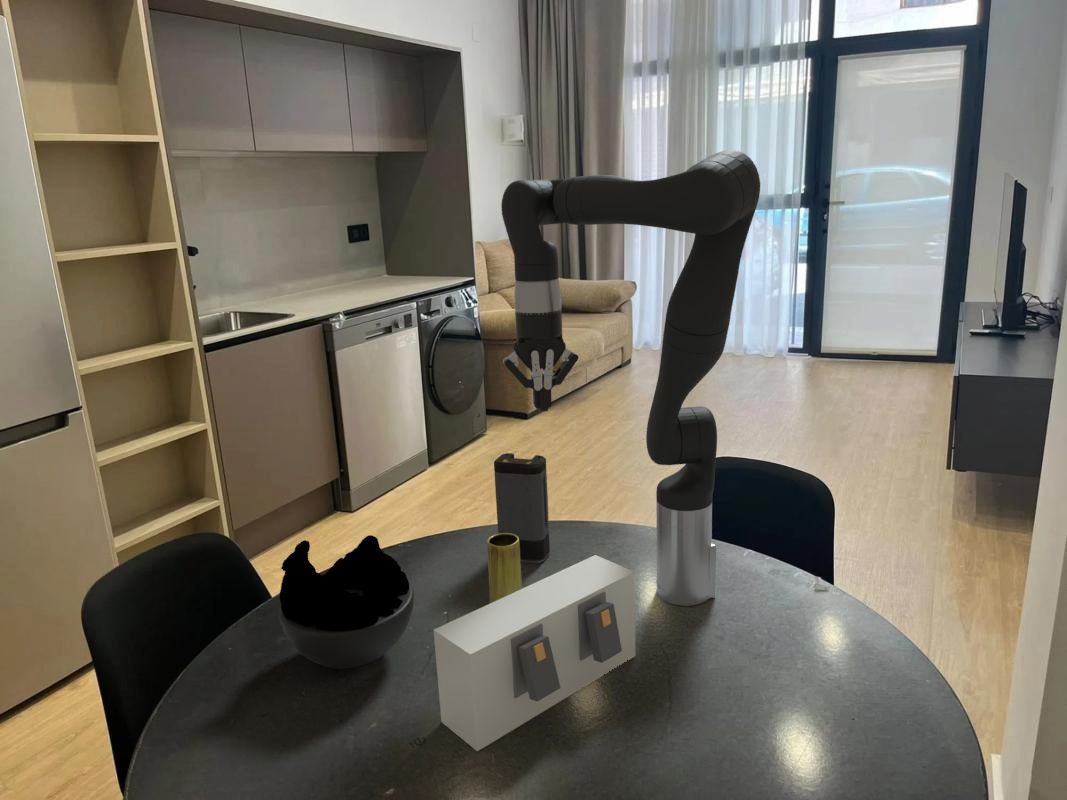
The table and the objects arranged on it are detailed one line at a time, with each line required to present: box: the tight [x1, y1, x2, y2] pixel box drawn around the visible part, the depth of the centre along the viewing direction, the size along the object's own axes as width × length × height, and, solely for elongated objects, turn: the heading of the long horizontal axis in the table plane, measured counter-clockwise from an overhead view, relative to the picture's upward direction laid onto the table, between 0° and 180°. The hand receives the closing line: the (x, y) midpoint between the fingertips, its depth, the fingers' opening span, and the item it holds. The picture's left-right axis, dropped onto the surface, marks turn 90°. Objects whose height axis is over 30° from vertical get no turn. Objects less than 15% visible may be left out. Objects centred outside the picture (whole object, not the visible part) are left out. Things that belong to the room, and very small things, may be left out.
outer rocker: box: [518, 635, 560, 702], centre depth 102 cm, size 2×4×7 cm, turn 131°
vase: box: [486, 533, 523, 604], centre depth 130 cm, size 6×6×14 cm
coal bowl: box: [278, 534, 415, 669], centre depth 120 cm, size 20×20×19 cm
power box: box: [433, 554, 636, 752], centre depth 111 cm, size 8×30×14 cm, turn 131°
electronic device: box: [493, 452, 551, 564], centre depth 151 cm, size 9×6×20 cm, turn 71°
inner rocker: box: [585, 602, 622, 663], centre depth 109 cm, size 2×4×7 cm, turn 131°
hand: (542, 410), depth 132 cm, fingers closed
